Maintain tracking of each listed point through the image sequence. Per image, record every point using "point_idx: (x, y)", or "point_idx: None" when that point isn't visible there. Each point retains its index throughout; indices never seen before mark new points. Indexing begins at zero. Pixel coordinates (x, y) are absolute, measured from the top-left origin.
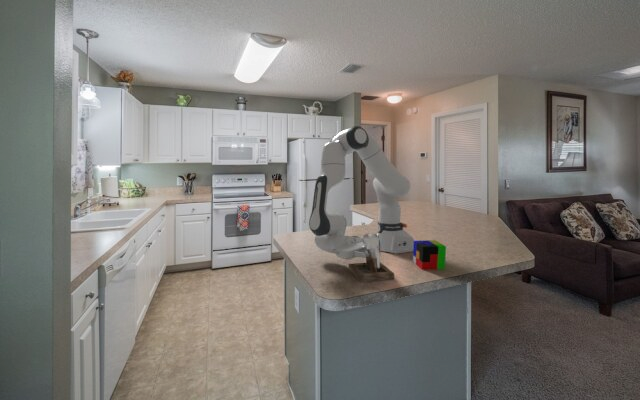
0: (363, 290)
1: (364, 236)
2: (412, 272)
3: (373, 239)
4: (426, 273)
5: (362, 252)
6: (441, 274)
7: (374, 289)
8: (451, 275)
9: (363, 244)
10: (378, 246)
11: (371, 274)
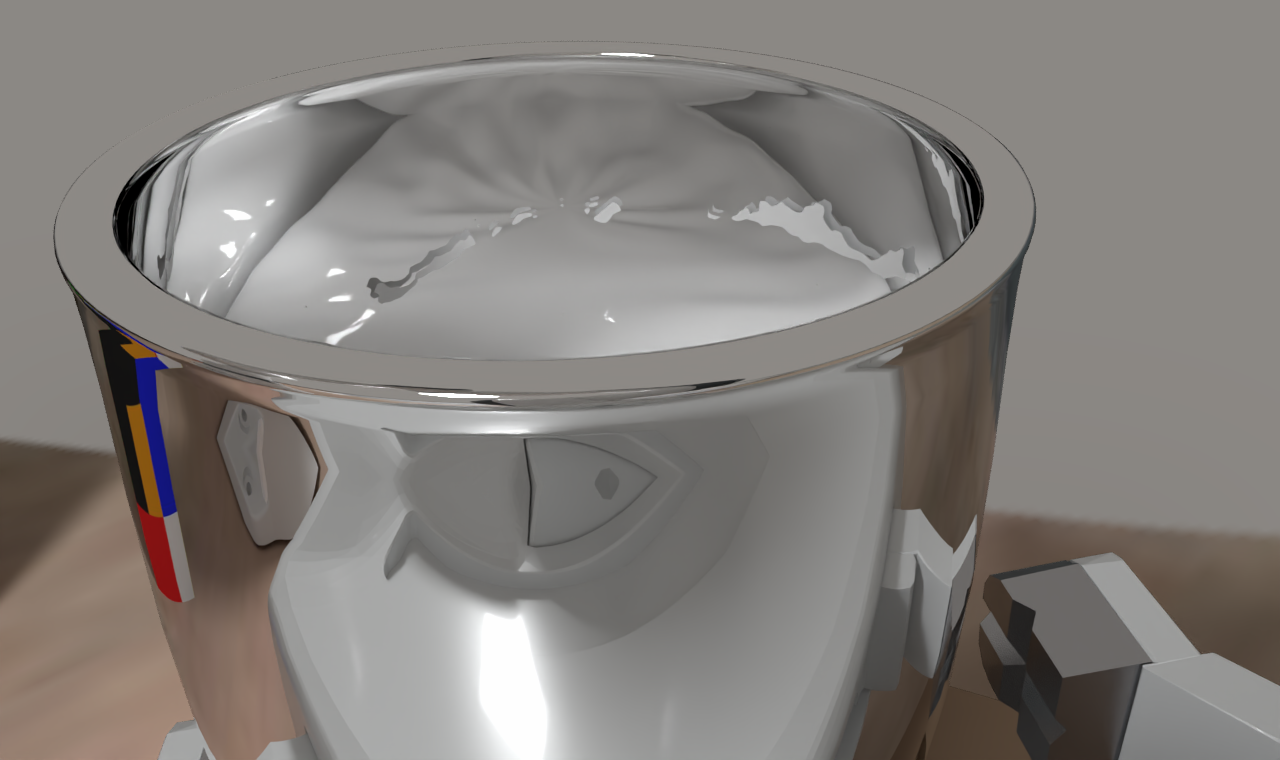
0: (1275, 589)
1: (690, 473)
2: (123, 679)
3: (764, 101)
4: (77, 575)
5: (1116, 653)
6: (38, 493)
7: (1085, 549)
8: (29, 445)
9: (960, 624)
10: (592, 345)
11: (950, 707)
